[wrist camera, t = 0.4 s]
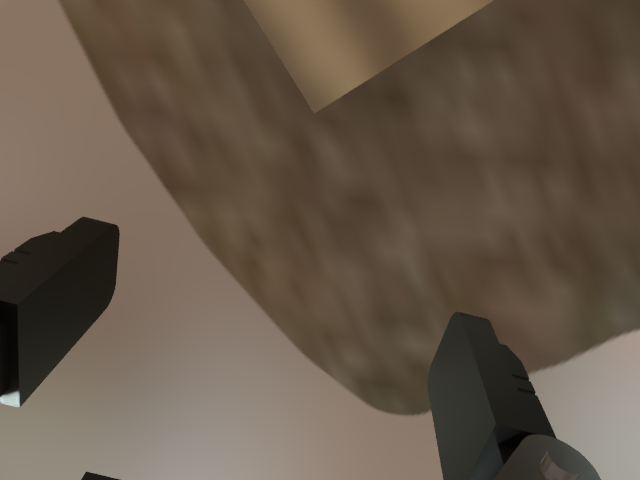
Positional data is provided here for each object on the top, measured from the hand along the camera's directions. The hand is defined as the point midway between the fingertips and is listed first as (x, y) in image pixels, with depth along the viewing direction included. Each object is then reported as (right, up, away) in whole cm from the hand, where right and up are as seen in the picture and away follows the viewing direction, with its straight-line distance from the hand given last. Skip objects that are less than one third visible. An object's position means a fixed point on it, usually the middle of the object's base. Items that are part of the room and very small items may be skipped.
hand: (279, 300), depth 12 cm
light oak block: (+4, +18, +21) cm, 28 cm away
